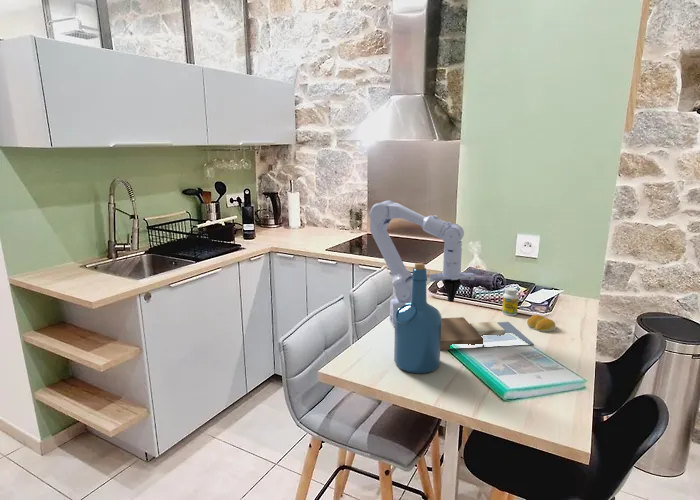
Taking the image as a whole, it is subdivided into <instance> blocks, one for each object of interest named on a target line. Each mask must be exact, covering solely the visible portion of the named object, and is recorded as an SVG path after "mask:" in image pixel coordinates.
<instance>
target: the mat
mask: <svg viewBox="0 0 700 500" xmlns="http://www.w3.org/2000/svg"><path fill="white" fill-rule="evenodd" d="M496 322H497V321H496ZM497 323H498V324H499V325H500V326H501V327H502V328H503V329H504V330H505V333H513V334H515V335H516V336H518V337H519V338H520V339H522V340H523V341H525V342H526V343H528V344H530V345H529V346H534V344H535V343H534V342H532V340H530V339H529V338H528V337H527V336H525V335H524V334H523V333H522V332H521V331H519V330H518V328H516V327H515V326H514V325H513V324H512V323H510V322H509V321H499V322H497Z"/></svg>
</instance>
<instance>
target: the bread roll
mask: <svg viewBox="0 0 700 500" xmlns="http://www.w3.org/2000/svg"><path fill="white" fill-rule="evenodd" d="M526 324H527V326H528V327H529V328H531V329H533V330H535V331H537V332H542V333H551V332H554V330H555V329H556V323H555V321H554V320H553V319H550V318H546V317H544V316H542V315H540V314H535V315H532V316H530V317H529V318H527V319H526Z"/></svg>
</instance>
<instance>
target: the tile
mask: <svg viewBox="0 0 700 500" xmlns="http://www.w3.org/2000/svg"><path fill="white" fill-rule="evenodd" d="M469 324H470V325H471V326H472V327H473V328H474V329H475V330H476V331H477V333H478V334H479V335H480V336H483V335H497V336H498V335H499V336H501V335H504V334H505V330H504V329H503V328H502V327H501V326H500V325H499V324H498V323H497V321H487V322H485V321H483V322H482V321H481V322H469Z"/></svg>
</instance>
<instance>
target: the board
mask: <svg viewBox="0 0 700 500" xmlns="http://www.w3.org/2000/svg"><path fill="white" fill-rule="evenodd" d="M452 344H468V345H469V344H471V345H475V344H483V338H482V337H481V336H480V335H479V334H478V333H477V331H476V330H475V329H474V328H473V327H472V326H471V325H470V322H469V321H468V320H467V319H466V318H465V317H464V316H461V317H444V318H443V317H442V320H441V344H440V351H447V350H449V349H450V345H452ZM449 351H450V350H449Z"/></svg>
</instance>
